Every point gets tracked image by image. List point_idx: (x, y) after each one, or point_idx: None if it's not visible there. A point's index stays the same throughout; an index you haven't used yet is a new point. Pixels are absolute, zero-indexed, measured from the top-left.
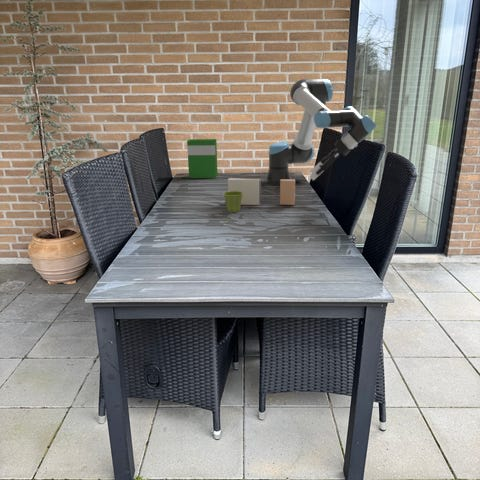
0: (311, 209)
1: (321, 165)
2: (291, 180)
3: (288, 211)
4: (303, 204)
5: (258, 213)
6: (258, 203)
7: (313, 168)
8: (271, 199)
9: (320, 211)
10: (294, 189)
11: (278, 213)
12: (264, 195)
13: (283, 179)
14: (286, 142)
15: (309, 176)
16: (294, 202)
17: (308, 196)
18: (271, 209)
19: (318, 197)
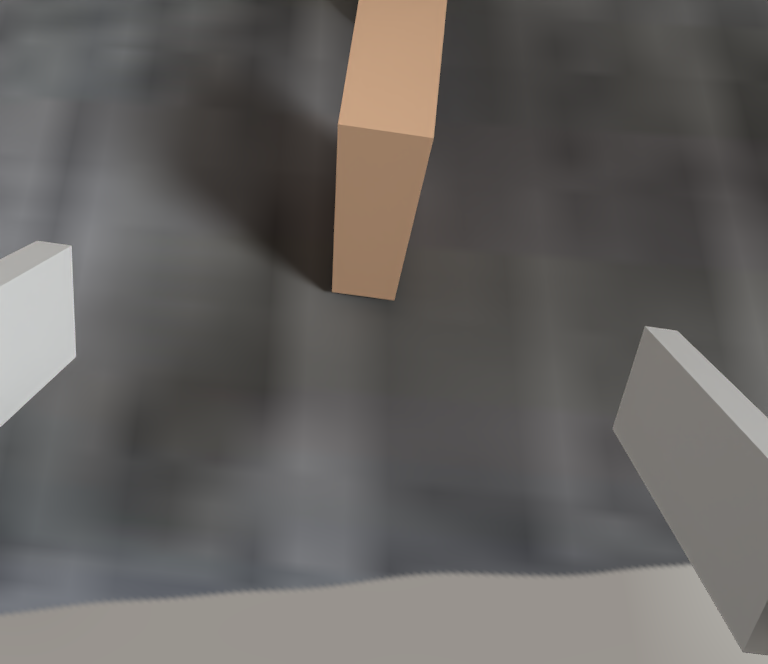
0: (177, 457)
1: (739, 564)
2: (363, 85)
3: (129, 231)
4: (391, 391)
5: (101, 13)
6: None
7: (676, 366)
8: (568, 126)
9: (77, 552)
10: (336, 200)
11: (73, 147)
12: (705, 83)
13: (436, 3)
14: None
15: (41, 242)
16: (367, 289)
17: None
18: (217, 105)
19: None
